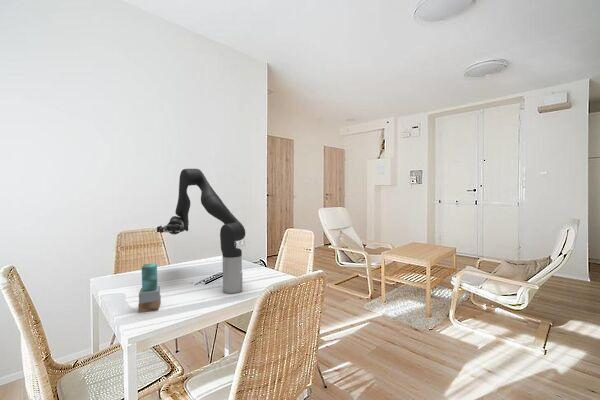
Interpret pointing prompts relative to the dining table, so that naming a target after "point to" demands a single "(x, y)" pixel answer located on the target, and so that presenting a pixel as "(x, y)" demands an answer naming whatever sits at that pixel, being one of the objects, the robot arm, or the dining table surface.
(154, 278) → the teal pillar
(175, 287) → the dining table surface
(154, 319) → the dining table surface
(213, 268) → the dining table surface
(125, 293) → the dining table surface
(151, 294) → the grey slab
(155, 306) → the walnut slab
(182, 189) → the robot arm
